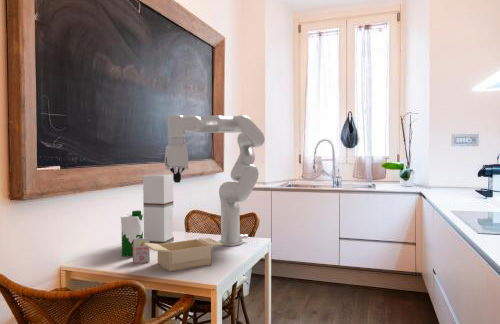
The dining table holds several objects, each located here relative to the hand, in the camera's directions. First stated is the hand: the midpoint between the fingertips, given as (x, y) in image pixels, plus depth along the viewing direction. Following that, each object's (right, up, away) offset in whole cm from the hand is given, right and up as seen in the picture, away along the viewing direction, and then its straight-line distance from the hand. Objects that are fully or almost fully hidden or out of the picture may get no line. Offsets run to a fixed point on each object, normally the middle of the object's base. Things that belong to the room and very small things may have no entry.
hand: (177, 182), depth 176 cm
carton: (+6, -33, -16) cm, 37 cm away
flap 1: (-2, -25, -21) cm, 33 cm away
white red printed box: (-13, -34, -12) cm, 38 cm away
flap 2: (+13, -25, -11) cm, 31 cm away
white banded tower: (-14, -33, +23) cm, 42 cm away
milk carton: (-20, -33, 0) cm, 39 cm away
